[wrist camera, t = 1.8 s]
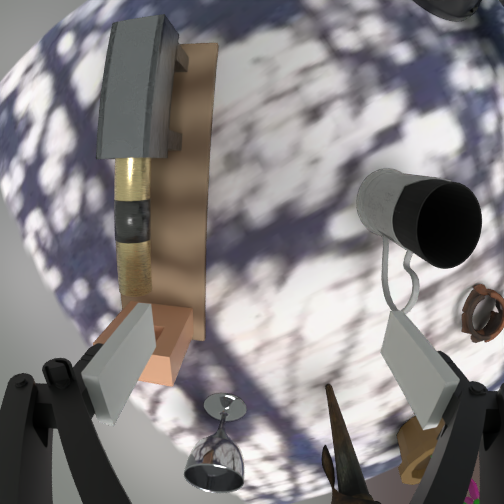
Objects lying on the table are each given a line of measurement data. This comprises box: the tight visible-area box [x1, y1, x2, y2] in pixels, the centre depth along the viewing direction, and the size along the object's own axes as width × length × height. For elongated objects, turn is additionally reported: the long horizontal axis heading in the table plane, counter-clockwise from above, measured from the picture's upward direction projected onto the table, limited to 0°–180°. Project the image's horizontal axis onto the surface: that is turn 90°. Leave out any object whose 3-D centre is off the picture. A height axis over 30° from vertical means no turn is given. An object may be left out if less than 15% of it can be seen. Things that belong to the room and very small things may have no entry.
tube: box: [114, 158, 152, 297], centre depth 27 cm, size 26×4×4 cm, turn 176°
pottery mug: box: [462, 284, 504, 343], centre depth 37 cm, size 12×10×8 cm
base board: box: [121, 43, 219, 341], centre depth 37 cm, size 39×12×1 cm, turn 176°
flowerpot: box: [397, 416, 480, 504], centre depth 33 cm, size 14×14×30 cm
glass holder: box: [357, 169, 482, 314], centre depth 30 cm, size 9×14×15 cm, turn 164°
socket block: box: [93, 301, 194, 387], centre depth 35 cm, size 4×9×12 cm, turn 86°
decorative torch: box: [322, 384, 381, 504], centre depth 30 cm, size 7×7×30 cm
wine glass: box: [184, 393, 247, 493], centre depth 39 cm, size 8×8×15 cm
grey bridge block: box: [96, 14, 189, 159], centre depth 28 cm, size 14×5×11 cm, turn 176°
